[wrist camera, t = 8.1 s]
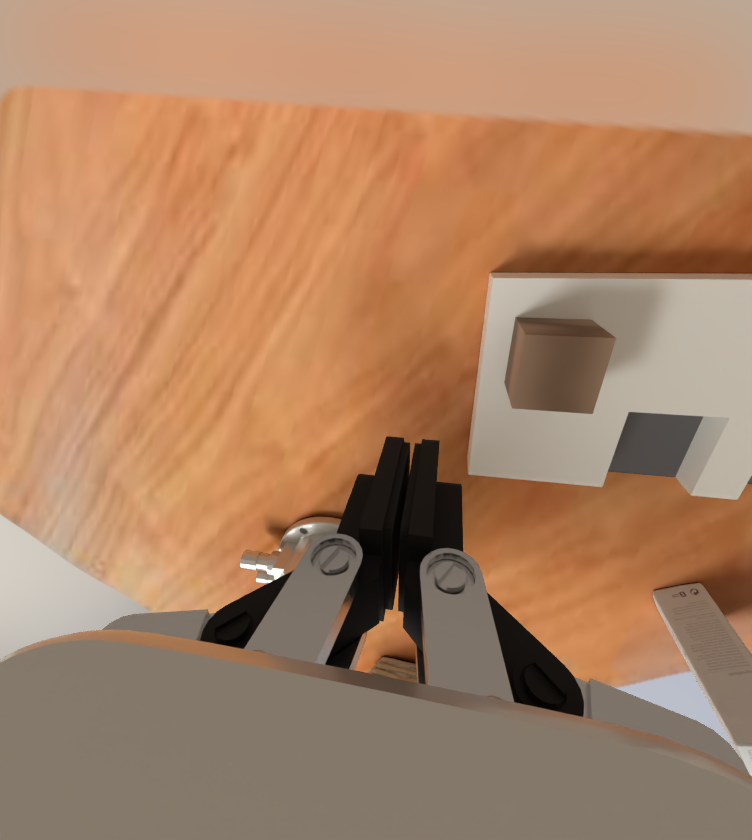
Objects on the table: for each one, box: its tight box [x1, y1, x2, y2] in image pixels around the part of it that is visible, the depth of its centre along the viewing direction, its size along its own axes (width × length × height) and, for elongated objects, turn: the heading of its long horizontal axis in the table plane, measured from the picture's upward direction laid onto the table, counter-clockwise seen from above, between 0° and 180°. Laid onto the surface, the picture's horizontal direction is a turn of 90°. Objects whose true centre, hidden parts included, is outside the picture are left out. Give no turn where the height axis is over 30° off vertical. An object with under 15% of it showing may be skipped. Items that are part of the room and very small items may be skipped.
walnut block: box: [504, 317, 616, 414], centre depth 22 cm, size 4×4×4 cm
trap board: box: [467, 273, 752, 500], centre depth 24 cm, size 31×15×5 cm, turn 91°
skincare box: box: [653, 583, 752, 776], centre depth 30 cm, size 6×4×12 cm
